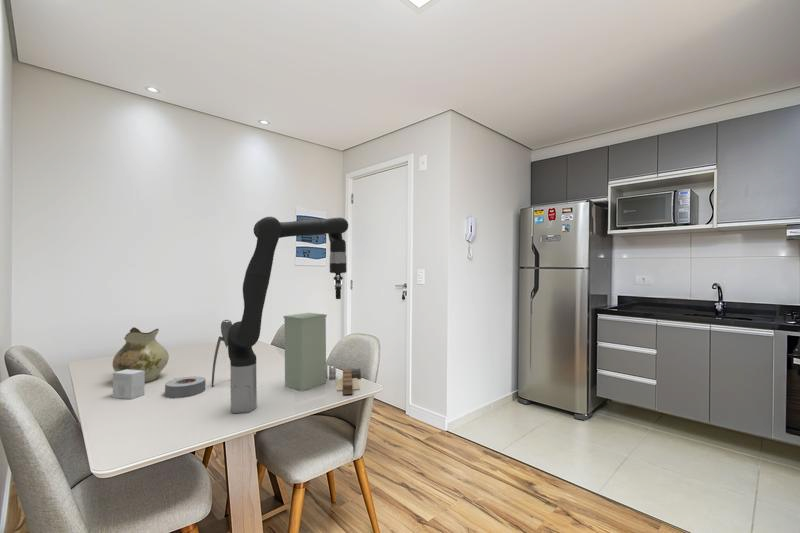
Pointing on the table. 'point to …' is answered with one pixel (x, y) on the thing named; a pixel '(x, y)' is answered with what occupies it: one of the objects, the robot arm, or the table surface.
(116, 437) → the table surface
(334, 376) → the cylinder
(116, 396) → the skincare box
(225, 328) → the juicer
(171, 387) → the tape roll
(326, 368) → the spacer
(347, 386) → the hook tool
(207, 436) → the table surface
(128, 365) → the green ceramic vase
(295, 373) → the tall sage green pillar
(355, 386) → the mat
